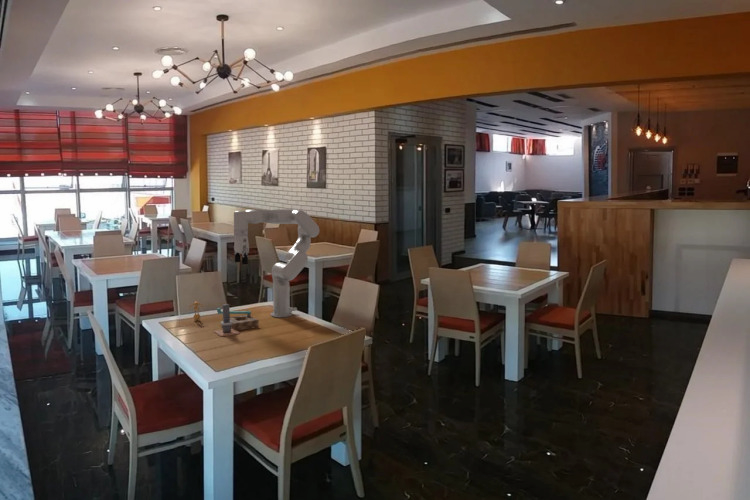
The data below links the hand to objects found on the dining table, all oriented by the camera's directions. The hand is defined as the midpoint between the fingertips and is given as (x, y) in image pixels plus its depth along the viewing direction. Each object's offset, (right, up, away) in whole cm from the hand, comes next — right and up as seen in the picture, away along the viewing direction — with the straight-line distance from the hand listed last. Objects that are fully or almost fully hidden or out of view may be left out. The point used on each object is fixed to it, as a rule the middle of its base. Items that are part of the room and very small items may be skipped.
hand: (241, 263), depth 321 cm
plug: (-3, -36, -21) cm, 41 cm away
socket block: (+2, -34, -7) cm, 35 cm away
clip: (-4, -28, -2) cm, 28 cm away
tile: (-3, -36, -21) cm, 42 cm away
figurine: (-26, -33, +3) cm, 42 cm away
